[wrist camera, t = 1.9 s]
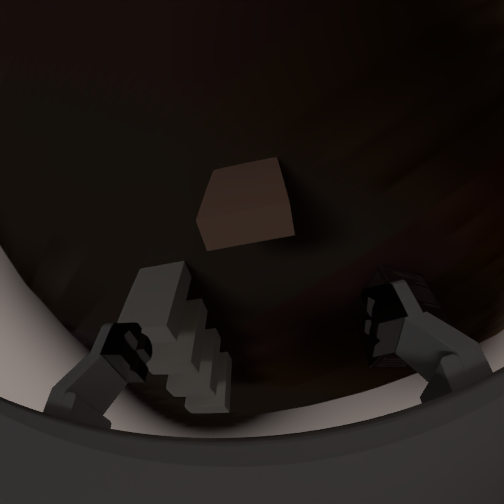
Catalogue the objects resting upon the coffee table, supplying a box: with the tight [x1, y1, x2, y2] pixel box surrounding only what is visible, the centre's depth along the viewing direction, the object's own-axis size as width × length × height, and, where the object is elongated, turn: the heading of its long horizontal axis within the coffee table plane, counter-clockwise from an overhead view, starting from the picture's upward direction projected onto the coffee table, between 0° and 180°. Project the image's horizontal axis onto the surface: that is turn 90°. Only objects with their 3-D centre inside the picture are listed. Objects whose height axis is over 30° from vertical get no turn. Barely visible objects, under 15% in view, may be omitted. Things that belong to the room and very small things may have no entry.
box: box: [351, 265, 453, 368], centre depth 23 cm, size 6×6×7 cm
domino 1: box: [117, 261, 191, 343], centre depth 21 cm, size 2×4×7 cm, turn 102°
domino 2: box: [146, 298, 207, 374], centre depth 24 cm, size 2×4×7 cm, turn 102°
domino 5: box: [196, 157, 295, 251], centre depth 16 cm, size 2×4×7 cm, turn 102°
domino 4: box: [185, 352, 232, 413], centre depth 29 cm, size 2×4×7 cm, turn 103°
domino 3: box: [166, 328, 221, 397], centre depth 27 cm, size 2×4×7 cm, turn 102°
